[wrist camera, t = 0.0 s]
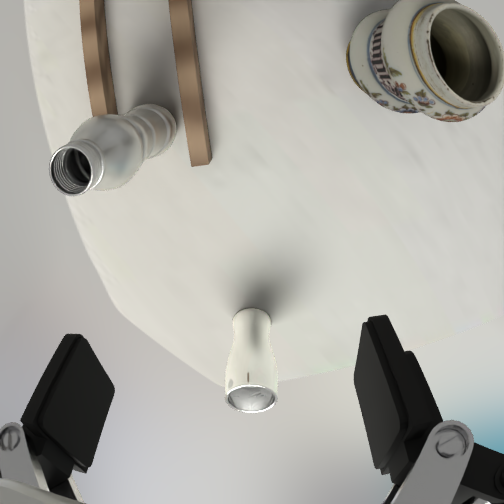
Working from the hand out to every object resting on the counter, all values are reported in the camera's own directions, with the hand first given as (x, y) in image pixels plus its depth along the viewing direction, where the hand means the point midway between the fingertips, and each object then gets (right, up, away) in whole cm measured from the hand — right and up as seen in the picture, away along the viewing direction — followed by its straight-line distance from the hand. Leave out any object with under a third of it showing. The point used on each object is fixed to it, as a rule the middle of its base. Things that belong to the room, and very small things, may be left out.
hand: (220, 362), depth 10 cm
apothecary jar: (+17, +26, +21) cm, 38 cm away
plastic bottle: (-11, +19, +26) cm, 33 cm away
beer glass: (+1, -7, +40) cm, 41 cm away
